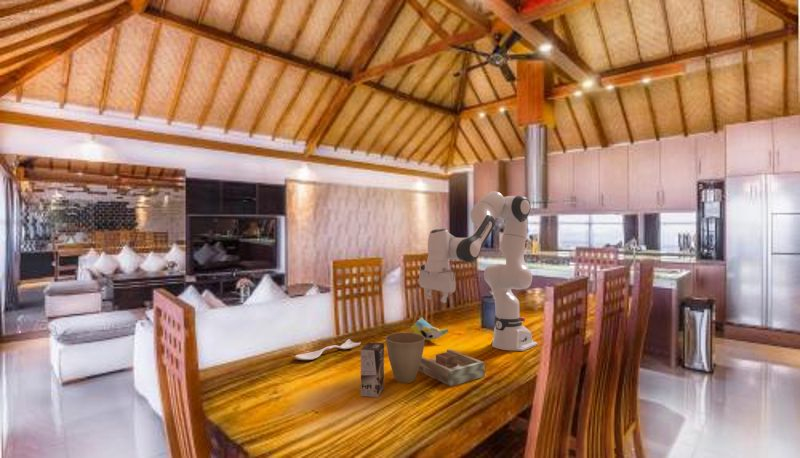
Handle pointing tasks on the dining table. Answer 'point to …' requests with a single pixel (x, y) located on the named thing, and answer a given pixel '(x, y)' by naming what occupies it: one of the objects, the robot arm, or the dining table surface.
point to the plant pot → (405, 355)
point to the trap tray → (454, 369)
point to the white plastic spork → (317, 353)
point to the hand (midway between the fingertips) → (436, 300)
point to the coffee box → (372, 369)
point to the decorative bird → (427, 330)
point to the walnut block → (446, 359)
